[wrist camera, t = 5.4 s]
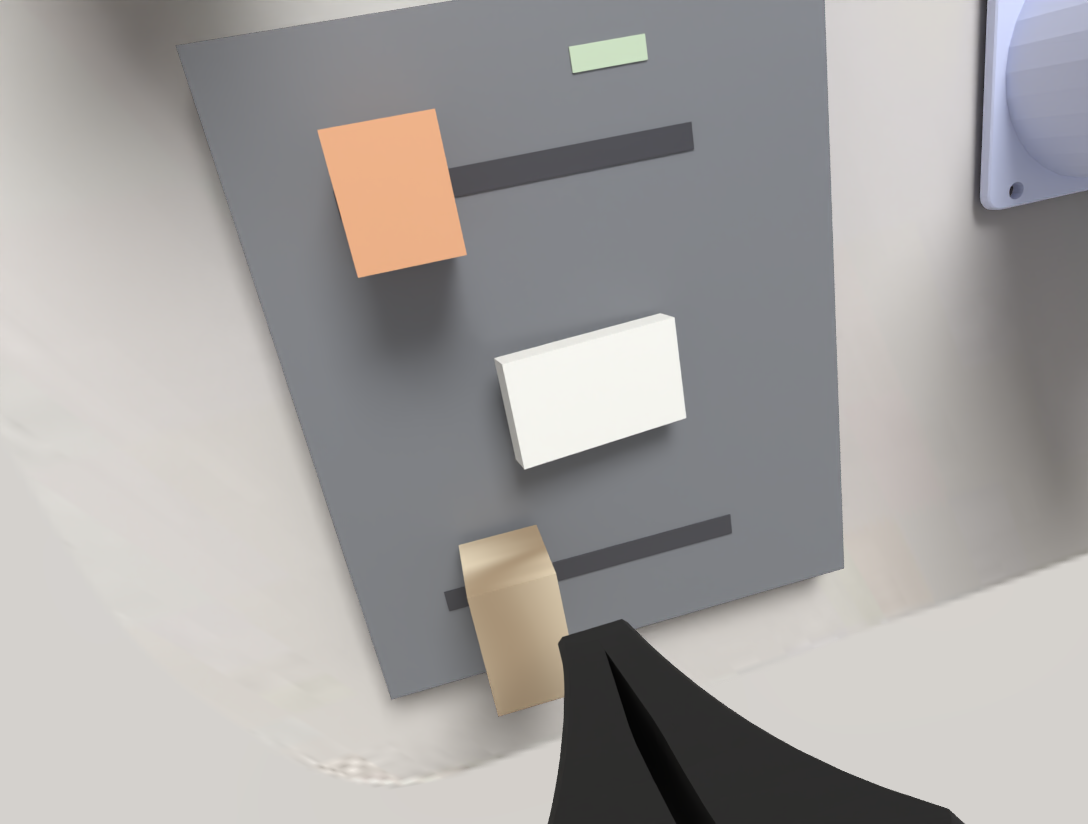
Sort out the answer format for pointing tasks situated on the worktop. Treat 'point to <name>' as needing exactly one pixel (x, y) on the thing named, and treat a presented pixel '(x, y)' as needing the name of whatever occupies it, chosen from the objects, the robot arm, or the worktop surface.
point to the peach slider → (393, 191)
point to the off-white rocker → (591, 389)
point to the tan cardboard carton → (516, 617)
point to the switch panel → (552, 295)
